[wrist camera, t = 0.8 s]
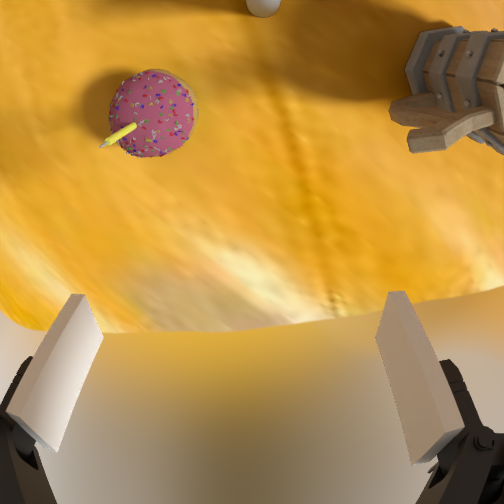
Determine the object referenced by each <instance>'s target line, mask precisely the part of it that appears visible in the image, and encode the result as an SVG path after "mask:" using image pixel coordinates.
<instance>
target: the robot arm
mask: <svg viewBox="0 0 504 504" xmlns="http://www.w3.org/2000/svg"><path fill="white" fill-rule="evenodd" d="M375 338H376V341H377V344H378V347H379V350H380V354H381V357H382V360H383V363H384V366H385V369H386V372H387V376H388V379H389V382H390V386H391V388H392V392H393V396H394V399H395V403H396V406H397V410H398V413H399V417H400V420H401V424H402V428H403V432H404V435H405V440H406V444H407V448H408V452H409V455H410V460H411V464H412V466H414V465H418V464H422V463H426V462H429V461H431V460H432V459H433V458H434V457H435V456H436V455H437V457H438V461H439V462H437V463H436V464H435V465H434V466H433V467H432V468H431V469H430V470H429V471H428V473H431V472H432V471H433V473H432V474H431V476H430V478H429V480H428V482H427V484H426V486H425V488H424V490H423V492H422V493H421V495H420V497H419V499H418V500H417V502H416V504H504V433H494V432H493V430H492V429H490V428H488V427H486V426H483V424H482V423H481V421H480V419H479V416H478V413H477V411H476V408H475V406H474V403H473V401H472V398H471V396H470V394H469V392H468V391H467V387H466V384H465V382H463V378H462V375H461V373H460V371H459V369H458V368H457V367H456V366H455V365H454V363H452V361H451V360H450V359H448V360H443V361H438V359H437V356H436V354H435V352H434V350H433V348H432V345H431V343H430V341H429V339H428V337H427V335H426V333H425V330H424V328H423V326H422V325H421V322H420V320H419V318H418V316H417V314H416V312H415V310H414V308H413V306H412V304H411V302H410V300H409V298H408V296H407V295H406V293H405V291H396V292H388V296H387V300H386V303H385V307H384V310H383V314H382V317H381V320H380V324H379V327H378V330H377V334H376V337H375ZM102 340H103V335H102V333H101V331H100V329H99V326H98V324H97V322H96V320H95V317H94V315H93V313H92V311H91V308H90V306H89V303H88V301H87V299H86V296H85V295H83V294H71V296H70V297H69V299H68V300H67V302H66V304H65V305H64V307H63V308H62V310H61V311H60V313H59V315H58V316H57V318H56V319H55V321H54V323H53V324H52V326H51V328H50V329H49V331H48V333H47V334H46V336H45V338H44V339H43V341H42V343H41V345H40V346H39V348H38V350H37V352H36V353H35V355H34V357H32V356H29V357H28V358H27V359H26V360H25V361H24V362H23V363H22V364H21V366H20V368H19V370H18V372H17V373H16V374H17V375H16V376H15V377H14V379H13V383H11V385H10V387H9V389H8V391H7V393H6V395H5V397H4V399H3V401H2V403H1V405H0V504H57V502H56V500H55V497H54V495H53V492H52V490H51V487H50V485H49V482H48V480H47V477H46V474H45V471H44V468H43V466H42V463H41V460H40V457H39V453H38V451H37V449H36V447H35V446H34V444H35V442H36V441H37V442H38V443H39V444H40V445H41V446H42V447H43V448H46V449H49V450H52V451H54V452H58V450H59V447H60V444H61V441H62V438H63V435H64V432H65V430H66V427H67V424H68V421H69V419H70V416H71V414H72V411H73V408H74V406H75V403H76V400H77V398H78V396H79V393H80V391H81V388H82V386H83V383H84V381H85V379H86V376H87V374H88V371H89V369H90V367H91V364H92V362H93V360H94V358H95V355H96V353H97V351H98V349H99V346H100V344H101V342H102Z"/></svg>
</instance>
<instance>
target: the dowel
mask: <svg viewBox="0 0 504 504" xmlns="http://www.w3.org/2000/svg"><path fill="white" fill-rule="evenodd" d="M280 2H281V0H246V4H247V8H248V10H249V11H250V13H252V14H253V15H255V16H257V17H262V18H264V17H270V16H272V15H274V14H275V13H276V12H277V10H278V8H279V5H280Z"/></svg>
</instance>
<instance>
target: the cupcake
mask: <svg viewBox="0 0 504 504" xmlns="http://www.w3.org/2000/svg"><path fill="white" fill-rule="evenodd" d="M134 75H135V76H133V77H131V78H129V79H127V80H126V81H123V82H122V84H121V85H120V87H119V88H118V90H117V92H116V94H115V96H114V98H113V100H112V102H111V104H110V106H109V107H110V110H109V121H110V125H111V131H112V132H113V133H112V135H111V136H109V137H107V138H106V139H105V140H104V144H102V145H101V146H100V148H102V147H104V146H105V145H106V146H110V145H111V144H113V143H114V142H117V141H118V142H117V143H119V144H120V145H119V146H121V148H123V149H124V150H126V151H127V152H126V153H127V154H130V153H131V155H132V154H133V155H135V156H137V157H138V158H139V157H156V156H160V157H161V156H164V155H166V154H169V153H172V152H173V151H175V150H176V149H178V148H180V147H181V146H182V145H183V144H184V143H185V142H186V141H187V140H188V139H189V138H190V136H191V135H192V132H193V130H194V127H195V125H196V122H197V120H198V115H199V112H198V104H197V98H196V95H195V93H194V91H193V90H192V88H191V87H190V86H189V85H188V84H187V83H186V82H185V81H183V80H182V79H180V78H179V77H177V76H175V75H173V74H171V73H170V72H168V71H166V70H161V69H149V70H146V71H143V72H141V73H139V74H134ZM128 152H129V153H128ZM133 155H132V156H133Z"/></svg>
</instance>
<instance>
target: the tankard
mask: <svg viewBox="0 0 504 504" xmlns="http://www.w3.org/2000/svg"><path fill="white" fill-rule="evenodd" d="M404 70H405V73H406V76H407V79H408V82H409V85H410V88H411V91H412V96H409V97H406V98H403V99H400V100H397V101H394V102H392V103H391V106H390V108H389V114H390V117H391V120H393V121H394V122H396V123H398V124H400V125H402V126H410V127H418V128H420V129H412V130H410V131H409V133H408V136H407V143H408V146H409V150H410V152H412V153H413V154H414V153H422V152H431V151H440V150H446V149H447V148H449V147H450V146H451V145H452V144H454V143H455V142H456V141H458V140H459V139H461V138H462V137H464V136H465V135H466V136H468V137H469V138H470V139H472V140H474V141H476V142H478V143H480V144H482V143H485V142H486V144H487V146H491V147H492V148H493V149H494V150H496V151H497V152H498V153H500V154H502V155H504V31H498V30H497V29H494V28H493V29H492V30H491V32H488V31H473V32H469V31H468V30H465V29H464V28H463V27H461V26H458V27H449V28H443V29H436V30H430V31H424V32H420V34H419V37H418V39H417V41H416V44H415V46H414V48H413V51H412V53H411V55H410V58H409V60H408V62H407V64H406V67H405V69H404Z"/></svg>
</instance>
